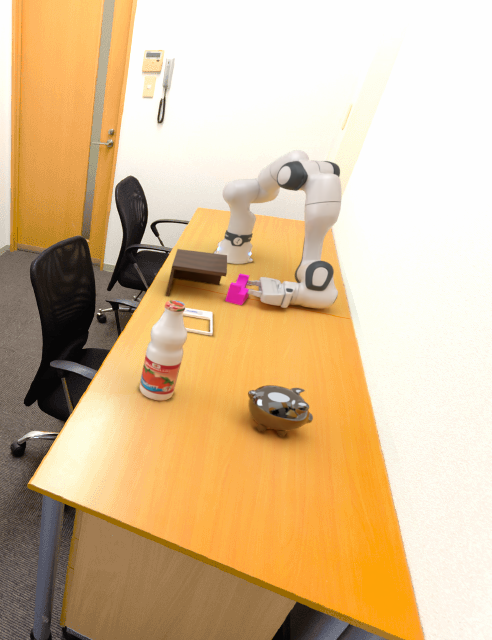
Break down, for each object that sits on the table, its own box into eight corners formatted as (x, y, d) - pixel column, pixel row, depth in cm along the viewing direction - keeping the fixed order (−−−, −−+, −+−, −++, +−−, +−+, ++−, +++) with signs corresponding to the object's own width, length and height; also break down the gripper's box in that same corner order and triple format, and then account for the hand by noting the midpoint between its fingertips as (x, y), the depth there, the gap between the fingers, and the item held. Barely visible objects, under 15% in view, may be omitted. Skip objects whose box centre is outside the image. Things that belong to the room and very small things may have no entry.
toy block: (241, 305, 171) (246, 288, 167) (225, 301, 175) (230, 284, 171) (251, 293, 181) (256, 276, 177) (235, 289, 184) (240, 273, 181)
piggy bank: (308, 449, 103) (326, 412, 97) (239, 432, 108) (252, 396, 102) (300, 420, 112) (317, 385, 106) (237, 406, 117) (249, 371, 111)
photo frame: (212, 311, 164) (212, 332, 149) (211, 314, 164) (211, 335, 150) (172, 305, 169) (168, 325, 154) (171, 307, 169) (168, 327, 155)
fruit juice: (178, 391, 123) (202, 304, 109) (162, 406, 117) (184, 315, 103) (149, 377, 129) (167, 293, 114) (132, 390, 123) (149, 303, 109)
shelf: (171, 277, 197) (177, 248, 190) (219, 284, 190) (227, 255, 183) (165, 295, 179) (172, 265, 173) (218, 304, 172) (226, 273, 165)
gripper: (286, 276, 176) (248, 271, 181) (292, 294, 160) (250, 288, 165) (281, 290, 179) (244, 284, 184) (286, 309, 163) (246, 303, 168)
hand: (247, 286), depth 174 cm, fingers open, 8 cm apart
